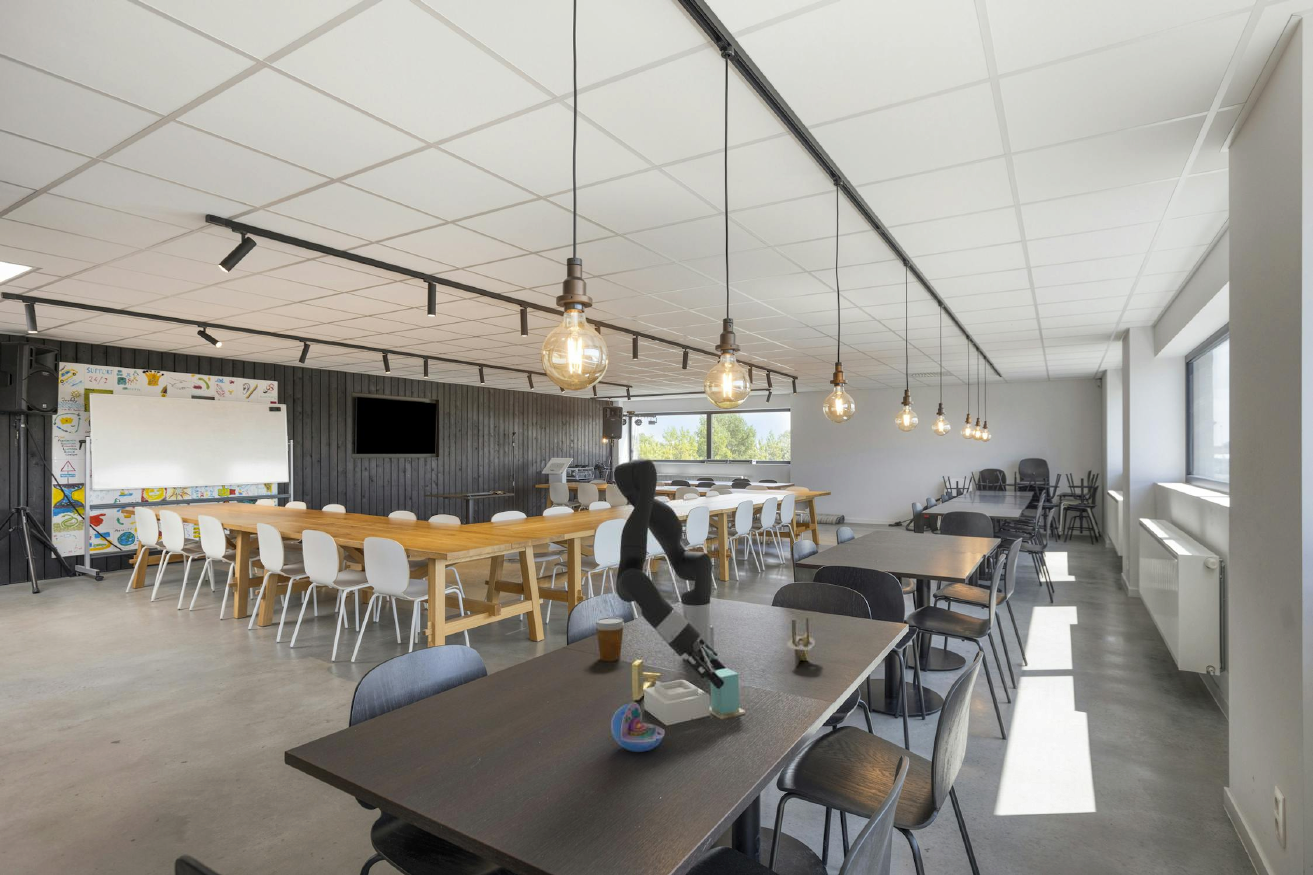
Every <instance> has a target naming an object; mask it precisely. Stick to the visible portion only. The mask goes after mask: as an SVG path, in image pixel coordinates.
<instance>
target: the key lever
mask: <svg viewBox="0 0 1313 875" xmlns="http://www.w3.org/2000/svg"><path fill="white" fill-rule="evenodd" d="M661 675H662V674H661V673H657V672H655V673H654V672H645V671H644V661H643V660H642V659H635V661H634V662H633V663H632V664H631V682H632V683H631V686H632V687H631V688H632V689H631V690H632V700H634V701H639V700H640V699H641V698H643V696H644V689H645V688H650V687H651V686H652V685H655V684H656V681H657V679H659V680H660V679H661V678H662V677H661ZM644 678H646V679H647V681H645V682H646V683H645V684H644V685H643V683H644Z"/></svg>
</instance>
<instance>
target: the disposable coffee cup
mask: <svg viewBox="0 0 1313 875" xmlns="http://www.w3.org/2000/svg"><path fill="white" fill-rule="evenodd" d="M624 626H625V622H624V619H623V618H621V617H618V616H617V617H615V616H609V617H607V616H606V617H601V618H598V619H596V620H595V623H594V627H595V629H596V636H597V642H598V648H599V649H598V650H599V655H600V656H599V657H600V660H602V661H604V662H612V661H617V660H620V658H621V653H622V642H623V641H622V640H623V633H624V632H623V631H624Z"/></svg>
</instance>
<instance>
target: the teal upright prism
mask: <svg viewBox="0 0 1313 875" xmlns="http://www.w3.org/2000/svg"><path fill="white" fill-rule="evenodd" d="M713 671H714V672H715V673H716V674H717V675H718V676H719V677H720V678H721V679H722V680H723V681H724V685H723V686H722V687H721V688H720V689H717V688H716V687H715V686H714V685H713V684H712V683H711V682H710V706H711V708H712V709H714V710H715V711H717V712H718V713H720V714H722V715H723V714H727V713H732V712H736V711H739V708H740V694H739V692H740V690H739V689H740V688H739V673H737V672H736V671H734V670H732V669H729V668H727V667H726V668H725V669H720V670H715V669H714V670H713Z"/></svg>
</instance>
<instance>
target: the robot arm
mask: <svg viewBox="0 0 1313 875" xmlns="http://www.w3.org/2000/svg"><path fill="white" fill-rule="evenodd" d="M657 474H658V473H657V469H656V466H655V464H654V462H653V460H651V459H649V458H641V459H636V460H631V461H627V462H623V463H619V464H618V465H617V466H615V468H614V470H613V479H614V483H615V484H616V488H617V489H618V490H619V492H620V493H621V494H622V496H623V497H624V498H625V499H626V500H627V501H628V503H629V504H630V505H631V506H632V507H633V509H632V511H631V513H630V514H629V516H628V518H627V520H626V522H625V524H624V526H623V527H622V531H621V535H620V547H619V548H620V550H619V564H618V568H617V569H618V570H617V575H616V580H615V581H616V582H615V590H616V594H617V596H618V598H619V599H620V600H622V601H623V602H625V603H632V602H635V603H636V604H637V605H638V607H639V608H640V610H641V611H640V613H641V615H642V617H643V619H645V621H646V622H647V623H648V624H649V625H650V626H651V627H652V628H653V629H654V630H655V631H656V632H657V634H658V636H659V637H660V638H661V639H662V640H663V641H664V642H665V643H666V644H667V645H668V646H669V647H670V648H671V649H672V650H673V651H674V652H675V653H676V654H677V655H678V656H679V657H682V658H683V659H684V660H685V662H686V663H687V664H688V665H689V666H690V667H691V669H692V670H694V671H695V672H696V673H697V675H698V676H699V677H700V678H701V679H702V680H704V679H707V680H708V681H710V682H711V683H712V684H713V685H714V686H715V687H716V688H717V689H720V688H721V687H722V686H723V685H724V681H723V680H722V679H721V678H720V677H719V676H718V675H717V674H716V673H715V672H714V671H715V670H720V669H725V668H727V667H726V666H725V665H724V664H723V663H722V662H721V661H720V659H719V657H718V656H719V655H718V653H717V652H716V651H715V630H714V629H715V628H714V626H712V617H711V616H712V615H711V614H712V613H711V595H712V586H713V585H712V576H713V570H712V569H713V566H712V565H713V564H712V558H711V557H710V554H708V553H707V552H704V551H702V552H701V551H689V550H686V549H685V548H684V546H683V545H682V543H681V541H682V537H683V524H682V521H681V520H680V519H679V516H678V515H677V513H676V511H675V510H674V509H673V508H672V507H671V506H670V505H668V504H666V503H665V502H663V501H661V500H659V499H658V498H655V494H656V489H657V482H658V475H657ZM648 531H650V532H651V534H652V535H653V537H654V538H655V540H656V541H657V543H658V544H659V546H660V547H661V549H662V551H663V552H664V554H665V555H666V557H667V559H668V561H669V562H670V563H669V564H670V565H671V567H672V569H673V571H674V573H675V574H676V576H677V577H678V578H679V579H681V580H683V581H688V582H689V581H690V582H694V587H693V588H692V589H691V590H688V591H685V592H683V593H681V596H680V597H681V598H680V603H681V604H680V605H681V607H680V608H681V613H680V612H678V611H677V610H676V609H675V608H674V607H673V606H672V605H671V604H670V603H669V602H668V601H667V600H666V599H665V598H664V597H663V596H662V595H661V592H660V590H658V589H657V587H656V585H655V584H654V582H653V581H652V580H651V578H650V577H649V576H648V575H647V574H646V573H645V572H644V571H643V570H644V564H645V562H646V559H647V553H648V552H647V550H648ZM711 683H710V684H711Z"/></svg>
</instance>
